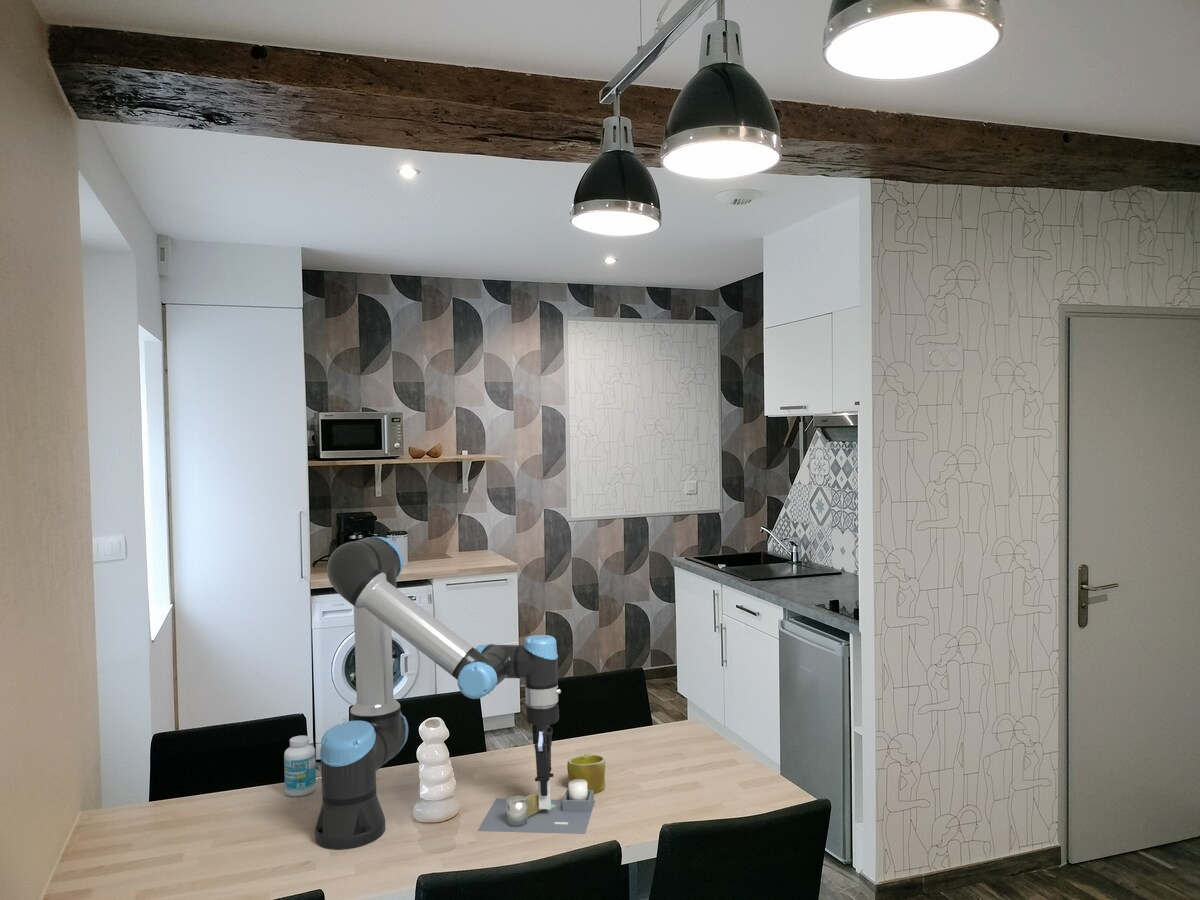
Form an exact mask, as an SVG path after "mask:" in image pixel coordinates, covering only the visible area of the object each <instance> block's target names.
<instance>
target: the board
mask: <svg viewBox="0 0 1200 900" xmlns="http://www.w3.org/2000/svg"><path fill="white" fill-rule="evenodd" d="M507 799H508V798H495V800H494V801H493V802H492V805H491V807H490V809H489V810H488V812H487V814H486V815H485V817H484V818H483V820H482V822H481V824H480V825H479V827H478V829H477V832H496V833H497V832H500V833H503V832H504V833H530V834H531V833H536V834H537V833H538V834H540V833H541V834H567V835H569V834H571V835H572V834H573V835H574V834H575V835H586V833H587V830H588V826H589V823H590V819H591V815H592V813H593V809H594V806H595V803H596V800H595V794H594V790H588V800H569V789H566V791H565V794H564V796H563V799H551V809H543V810H541V811H539V812H537V813H535V814H533V815H531V816H529V817H528V821H527V823H525V824H523V825H520V826H512V825H509V824H508V823H507V802H506V800H507Z"/></svg>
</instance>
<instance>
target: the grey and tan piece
mask: <svg viewBox="0 0 1200 900" xmlns="http://www.w3.org/2000/svg"><path fill="white" fill-rule="evenodd" d="M506 799H507V800H506V802H507V823H508V824H509V825H512V826H520V825H523V824H525V823H527V821H528V817H529V816H531V815H533V814H535V813H537V812H539V811H541V810H543V809H539V792H538V790H537V791H535V792H533V793H530V794H528V795H526V796H524V795H513V796H509V797H508V798H506Z"/></svg>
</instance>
